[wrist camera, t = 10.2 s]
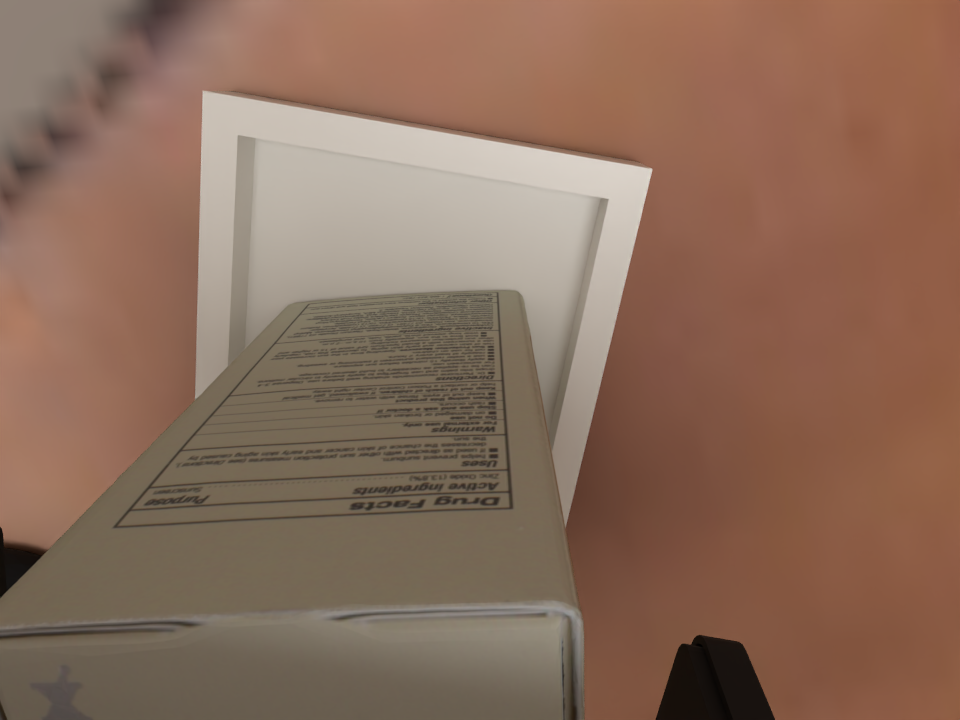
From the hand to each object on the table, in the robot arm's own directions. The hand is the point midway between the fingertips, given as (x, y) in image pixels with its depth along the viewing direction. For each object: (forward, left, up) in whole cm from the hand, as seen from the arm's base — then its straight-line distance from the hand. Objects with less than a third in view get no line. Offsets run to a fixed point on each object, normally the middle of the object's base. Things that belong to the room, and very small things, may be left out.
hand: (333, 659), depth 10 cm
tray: (+1, -1, -11) cm, 11 cm away
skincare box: (0, 0, -10) cm, 10 cm away
